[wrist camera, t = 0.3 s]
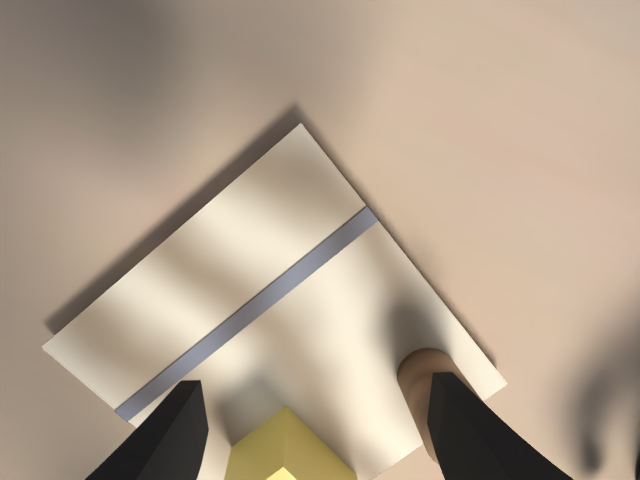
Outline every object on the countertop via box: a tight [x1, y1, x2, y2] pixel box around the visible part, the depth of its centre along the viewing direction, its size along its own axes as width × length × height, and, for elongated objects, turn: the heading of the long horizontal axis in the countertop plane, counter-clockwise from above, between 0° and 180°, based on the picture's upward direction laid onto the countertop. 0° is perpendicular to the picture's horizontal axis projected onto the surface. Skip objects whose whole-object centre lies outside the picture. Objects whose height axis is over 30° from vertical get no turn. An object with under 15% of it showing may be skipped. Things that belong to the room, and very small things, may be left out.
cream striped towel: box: [41, 123, 507, 480], centre depth 22 cm, size 19×20×1 cm
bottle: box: [397, 348, 485, 464], centre depth 19 cm, size 4×4×6 cm
